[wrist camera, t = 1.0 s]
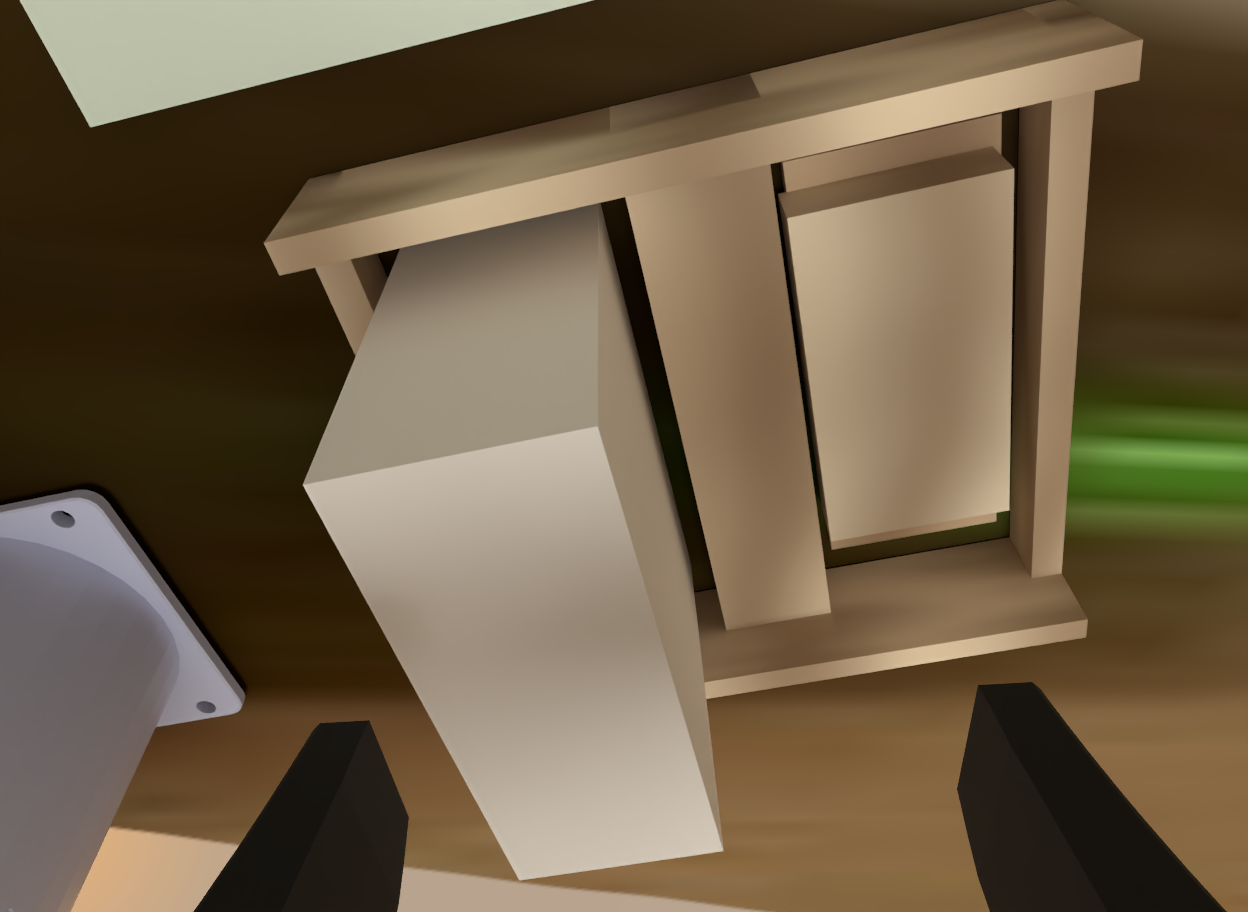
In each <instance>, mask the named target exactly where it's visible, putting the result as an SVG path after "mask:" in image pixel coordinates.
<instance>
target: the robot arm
mask: <svg viewBox="0 0 1248 912" xmlns="http://www.w3.org/2000/svg"><path fill="white" fill-rule="evenodd" d="M62 511H64V512H67V513H69V514H70V515H71V516H73V517H70V516H67V515H65V514H64V513H63V512H62ZM244 700H245V694H244V691H243V690H242V689H241V687H240V686H239V684H238V683H237V682H236V680H235V679H234V677H233V676H232V675H231V673H230V672H229V670H228V669H227V668H226V666H225V665H224V663H223V662H222V661H221V659H220V658H219V656H218V655H217V654H216V652H215V651H214V649H213V648H212V647H211V645H210V644H209V642H208V641H207V640H206V638H205V637H204V635H203V634H202V633H201V631H200V630H199V628H198V627H197V626H196V624H195V623H194V621H193V620H192V619H191V617H190V616H189V614H188V613H187V612H186V610H185V609H184V607H183V606H182V605H181V603H180V602H179V600H178V599H177V598H176V596H175V595H174V593H173V592H172V591H171V589H170V588H169V586H168V585H167V584H166V582H165V581H164V579H163V578H162V577H161V575H160V574H159V572H158V571H157V570H156V568H155V567H154V565H153V564H152V563H151V561H150V560H149V558H148V557H147V556H146V554H145V553H144V551H143V550H142V549H141V547H140V546H139V544H138V543H137V542H136V540H135V539H134V537H133V536H132V535H131V533H130V532H129V530H128V529H127V528H126V526H125V525H124V523H123V522H122V521H121V519H120V518H119V516H118V515H117V514H116V512H115V511H114V509H113V508H112V507H111V505H110V504H109V502H108V501H107V500H106V499H105V498H104V497H103V496H101V495H99V494H98V493H96V492H93V491H89V490H74V491H70V492H65V493H60V494H55V495H50V496H45V497H40V498H35V499H30V500H26V501H21V502H16V503H11V504H6V505H1V506H0V912H71V909H72V907H73V905H74V903H75V901H76V899H77V897H78V894H79V892H80V890H81V888H82V885H83V884H84V881H85V879H86V877H87V875H88V873H89V871H90V868H91V866H92V864H93V862H94V860H95V858H96V855H97V853H98V851H99V849H100V847H101V845H102V842H103V840H104V838H105V836H106V834H107V832H108V830H109V827H110V825H111V823H112V821H113V819H114V817H115V814H116V812H117V810H118V808H119V806H120V804H121V801H122V799H123V797H124V795H125V793H126V791H127V788H128V786H129V784H130V782H131V780H132V778H133V775H134V773H135V771H136V769H137V767H138V765H139V762H140V760H141V758H142V756H143V754H144V752H145V749H146V747H147V745H148V743H149V741H150V739H151V737H152V734H153V732H154V730H155V728H156V727H160V726H166V725H172V724H178V723H183V722H189V721H195V720H201V719H207V718H213V717H219V716H225V715H230V714H234V713H237V712H238V711H239V710H240V709H241V708H242V705H243V703H244ZM957 790H958V795H959V799H960V803H961V808H962V812H963V816H964V821H965V825H966V830H967V834H968V838H969V842H970V846H971V850H972V854H973V858H974V862H975V866H976V870H977V875H978V878H979V881H980V884H981V887H982V890H983V893H984V896H985V898H986V901H987V904H988V907H989V910H990V912H1226V911H1225V909H1224V908H1223V907H1222V906H1221V905H1220V904H1219V903H1218V902H1217V901H1216V900H1215V899H1214V898H1213V897H1212V895H1211V894H1210V893H1209V892H1208V891H1207V890H1206V889H1205V888H1204V887H1203V886H1202V884H1201V883H1200V882H1199V881H1198V880H1197V879H1196V878H1195V877H1194V876H1193V875H1192V874H1191V872H1190V871H1189V870H1188V869H1187V868H1186V867H1185V866H1184V864H1183V863H1182V862H1181V861H1180V860H1179V859H1178V858H1177V856H1176V855H1175V854H1174V853H1173V852H1172V851H1171V850H1170V848H1169V847H1168V846H1167V845H1166V844H1165V843H1164V842H1163V840H1162V839H1161V838H1160V837H1159V836H1158V835H1157V834H1156V832H1155V831H1154V830H1153V829H1152V828H1151V827H1150V826H1149V824H1148V823H1147V822H1146V821H1145V820H1144V819H1143V817H1142V816H1141V815H1140V814H1139V813H1138V812H1137V810H1136V809H1135V808H1134V807H1133V806H1132V804H1131V803H1130V802H1129V801H1128V800H1127V798H1126V797H1125V796H1124V795H1123V794H1122V792H1121V791H1120V790H1119V789H1118V788H1117V786H1116V785H1115V784H1114V783H1113V781H1112V780H1111V779H1110V778H1109V776H1108V775H1107V774H1106V773H1105V772H1104V770H1103V769H1102V768H1101V767H1100V765H1099V764H1098V763H1097V762H1096V761H1095V759H1094V758H1093V757H1092V755H1091V754H1090V753H1089V752H1088V750H1087V749H1086V748H1085V747H1084V745H1083V744H1082V743H1081V742H1080V740H1079V739H1078V738H1077V736H1076V735H1075V734H1074V733H1073V731H1072V730H1071V729H1070V728H1069V726H1068V725H1067V724H1066V722H1065V721H1064V720H1063V718H1062V717H1061V716H1060V714H1059V713H1058V712H1057V711H1056V709H1055V708H1054V707H1053V705H1052V704H1051V703H1050V701H1049V700H1048V699H1047V697H1046V696H1045V695H1044V693H1043V692H1042V691H1041V689H1040V688H1039V687H1037V686H1036V685H1035V684H1034V683H1032V682H1027V683H1009V684H992V685H978V688H977V693H976V698H975V703H974V708H973V713H972V718H971V723H970V728H969V733H968V738H967V743H966V748H965V753H964V758H963V763H962V768H961V773H960V778H959V782H958V787H957ZM408 819H409V817H408V814H407V812H406V809H405V807H404V804H403V802H402V800H401V797H400V795H399V792H398V790H397V787H396V785H395V782H394V780H393V778H392V775H391V773H390V770H389V768H388V765H387V763H386V761H385V758H384V756H383V753H382V751H381V748H380V746H379V743H378V741H377V739H376V736H375V734H374V731H373V729H372V726H371V724H370V721H353V722H336V723H320V724H319V725H318V726H317V727H316V728H315V729H314V730H313V732H312V733H311V735H310V736H309V738H308V740H307V741H306V743H305V744H304V746H303V748H302V749H301V751H300V752H299V754H298V756H297V757H296V759H295V760H294V762H293V763H292V765H291V767H290V768H289V770H288V771H287V773H286V775H285V776H284V778H283V779H282V781H281V782H280V784H279V786H278V787H277V789H276V790H275V792H274V793H273V795H272V797H271V798H270V800H269V801H268V803H267V804H266V806H265V807H264V809H263V810H262V812H261V813H260V815H259V816H258V818H257V820H256V821H255V823H254V824H253V826H252V827H251V829H250V830H249V832H248V833H247V835H246V836H245V838H244V839H243V841H242V842H241V844H240V845H239V847H238V848H237V850H236V851H235V853H234V854H233V856H232V857H231V858H230V860H229V861H228V863H227V864H226V866H225V867H224V869H223V870H222V871H221V873H220V874H219V876H218V877H217V879H216V880H215V882H214V883H213V885H212V886H211V887H210V889H209V890H208V892H207V893H206V895H205V896H204V898H203V899H202V901H201V902H200V903H199V905H198V906H197V907H196V909H195V910H194V912H397V909H398V904H399V897H400V889H401V881H402V873H403V866H404V857H405V847H406V838H407V828H408Z"/></svg>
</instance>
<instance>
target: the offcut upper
mask: <svg viewBox="0 0 1248 912" xmlns="http://www.w3.org/2000/svg"><path fill="white" fill-rule="evenodd" d="M778 199H779V206H780V213H781V220H782V227H783V235H784V242H785V249H786V256H787V263H788V271H789V278H790V285H791V292H792V299H793V306H794V314H795V321H796V328H797V335H798V342H799V350H800V357H801V364H802V371H803V378H804V385H805V393H806V400H807V407H808V414H809V421H810V429H811V436H812V443H813V450H814V457H815V464H816V472H817V479H818V486H819V493H820V500H821V508H822V512H823V515H824V519H825V522H826V526H827V529H828V533H829V537H830V540H831V541H837V540H843V539H849V538H854V537H860V536H866V535H871V534H877V533H883V532H888V531H894V530H900V529H906V528H911V527H917V526H923V525H928V524H934V523H940V522H946V521H951V520H957V519H963V518H968V517H974V516H980V515H985V514H991V513H997V512H1003V511H1008V510H1009V498H1010V429H1011V361H1012V292H1013V223H1014V168H1013V167H1012V165H1011V164H1010V163H1009V162H1008V161H1007V160H1006V159H1005V158H1004V157H1003V156H1002V155H1001V154H1000V153H999V152H998V151H997V150H996V149H995V148H994V147H993V146H990V147H986V148H981V149H977V150H972V151H968V152H963V153H959V154H955V155H950V156H946V157H941V158H937V159H932V160H928V161H923V162H919V163H915V164H910V165H906V166H901V167H897V168H892V169H888V170H884V171H879V172H875V173H870V174H866V175H861V176H857V177H852V178H848V179H844V180H839V181H835V182H830V183H826V184H821V185H817V186H813V187H808V188H804V189H799V190H795V191H790V192H784V193H779V194H778Z"/></svg>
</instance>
